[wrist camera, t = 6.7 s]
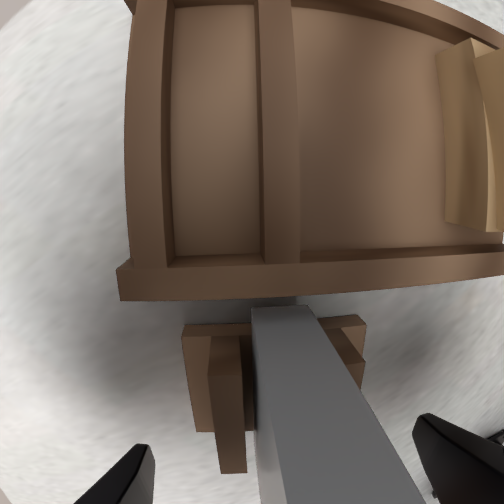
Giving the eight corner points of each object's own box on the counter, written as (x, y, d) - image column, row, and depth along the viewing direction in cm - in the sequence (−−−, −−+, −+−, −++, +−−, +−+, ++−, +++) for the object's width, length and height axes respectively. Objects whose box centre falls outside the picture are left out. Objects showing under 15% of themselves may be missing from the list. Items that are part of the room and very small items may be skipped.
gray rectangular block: (307, 304, 11) (442, 533, 2) (297, 439, 12) (342, 608, 4) (251, 307, 11) (302, 578, 2) (253, 443, 12) (276, 620, 4)
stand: (357, 314, 12) (395, 356, 9) (343, 405, 13) (368, 455, 10) (184, 324, 12) (170, 375, 8) (198, 417, 13) (192, 473, 9)
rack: (477, 49, 10) (508, 37, 7) (486, 259, 12) (520, 272, 10) (141, 7, 9) (125, -25, 6) (141, 277, 11) (120, 301, 9)
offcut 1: (494, 78, 9) (529, 69, 7) (501, 222, 11) (539, 231, 8) (434, 55, 9) (470, 37, 7) (444, 221, 11) (486, 231, 8)
